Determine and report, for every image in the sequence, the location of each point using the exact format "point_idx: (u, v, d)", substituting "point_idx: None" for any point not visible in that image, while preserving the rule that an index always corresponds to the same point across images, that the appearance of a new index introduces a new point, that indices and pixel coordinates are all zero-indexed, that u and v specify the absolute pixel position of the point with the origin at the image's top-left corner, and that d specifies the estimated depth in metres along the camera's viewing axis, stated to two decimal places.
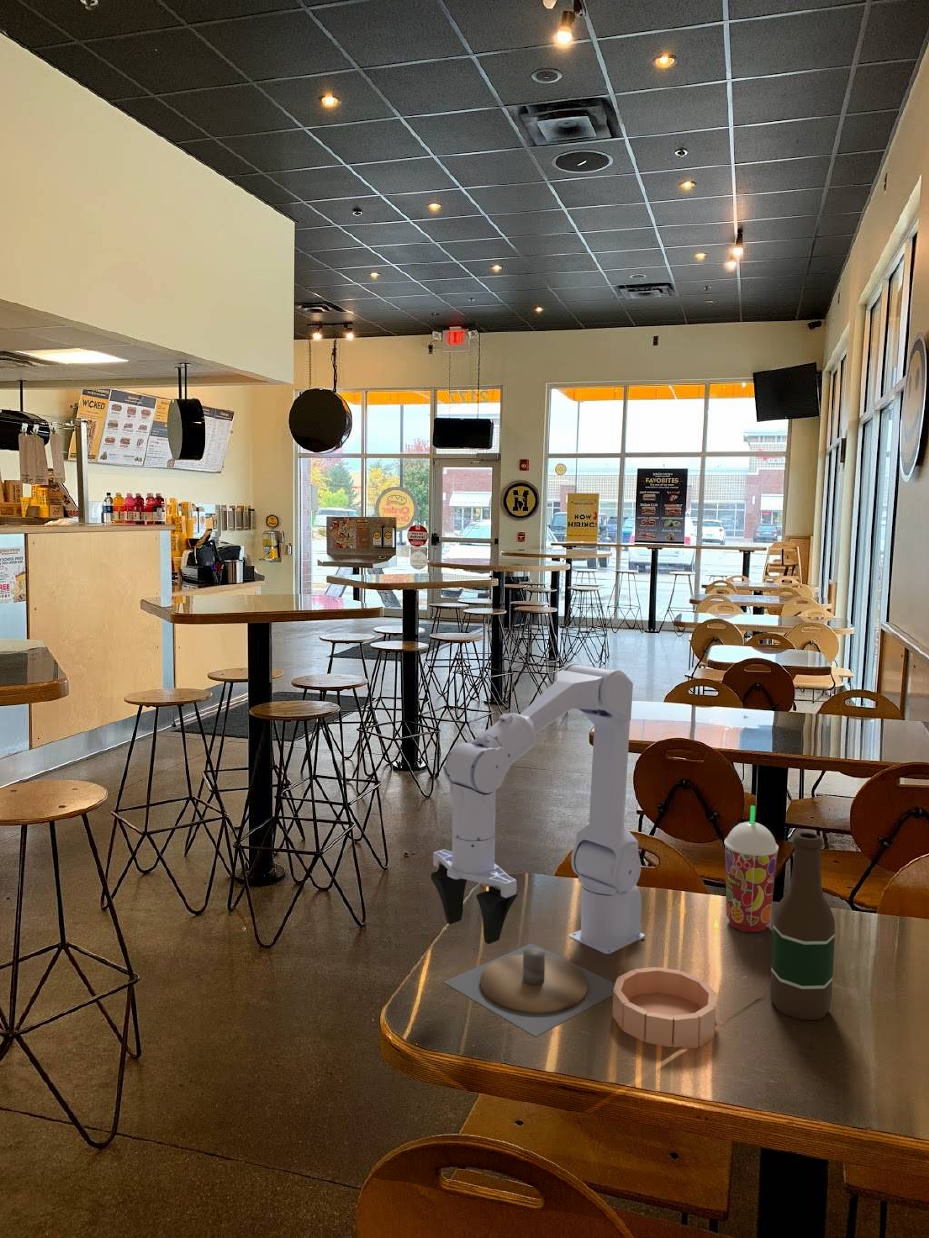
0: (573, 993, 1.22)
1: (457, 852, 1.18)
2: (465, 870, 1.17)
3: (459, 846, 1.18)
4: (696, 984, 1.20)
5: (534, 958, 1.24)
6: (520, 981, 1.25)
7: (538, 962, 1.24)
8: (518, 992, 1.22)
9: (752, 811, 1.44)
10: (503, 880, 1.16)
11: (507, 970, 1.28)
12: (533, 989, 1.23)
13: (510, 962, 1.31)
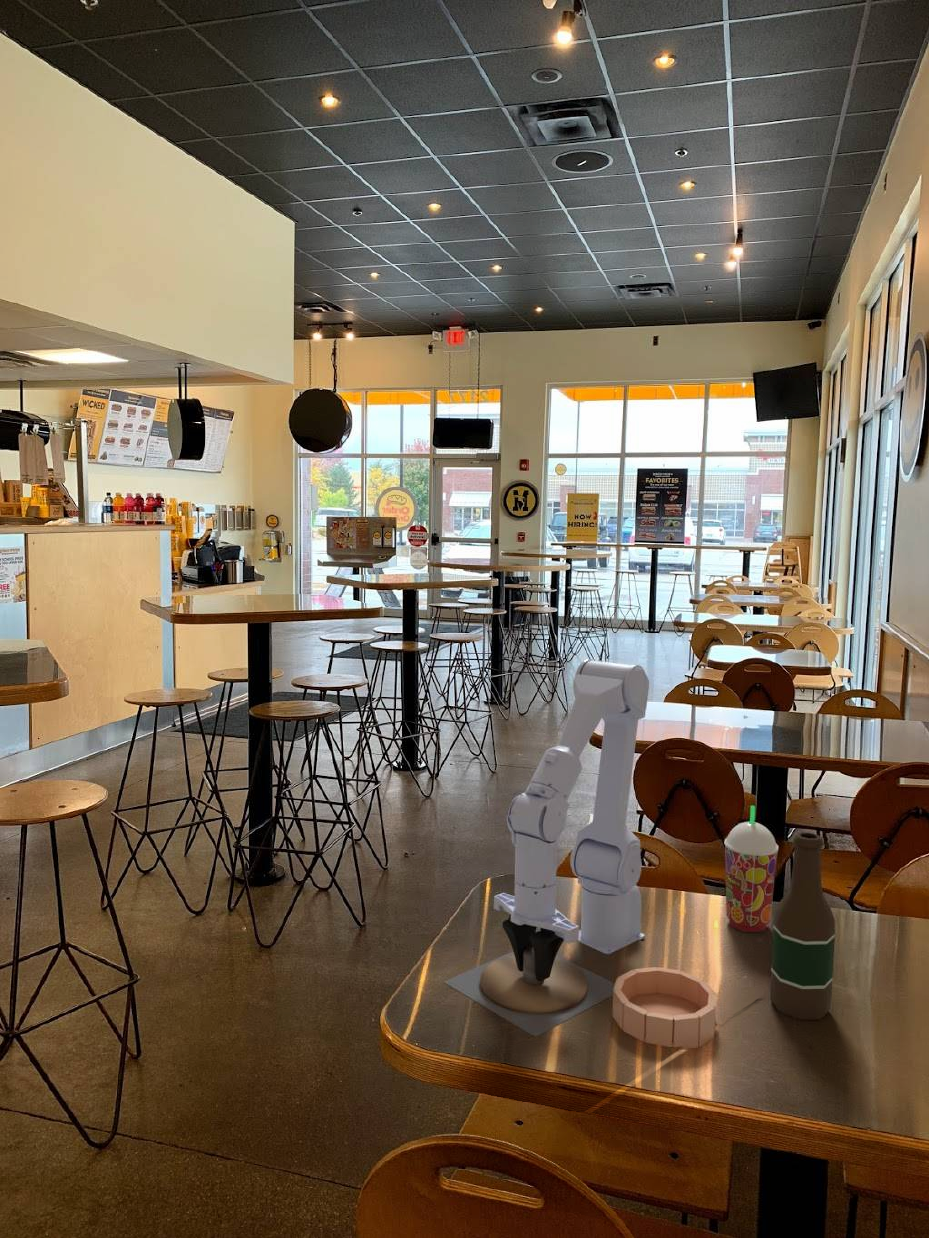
0: (573, 993, 1.22)
1: (520, 899, 1.23)
2: (528, 916, 1.22)
3: (522, 893, 1.22)
4: (696, 984, 1.20)
5: (534, 958, 1.24)
6: (520, 981, 1.25)
7: None
8: (518, 992, 1.22)
9: (752, 811, 1.44)
10: (566, 926, 1.20)
11: (507, 970, 1.28)
12: (533, 989, 1.23)
13: (510, 962, 1.31)
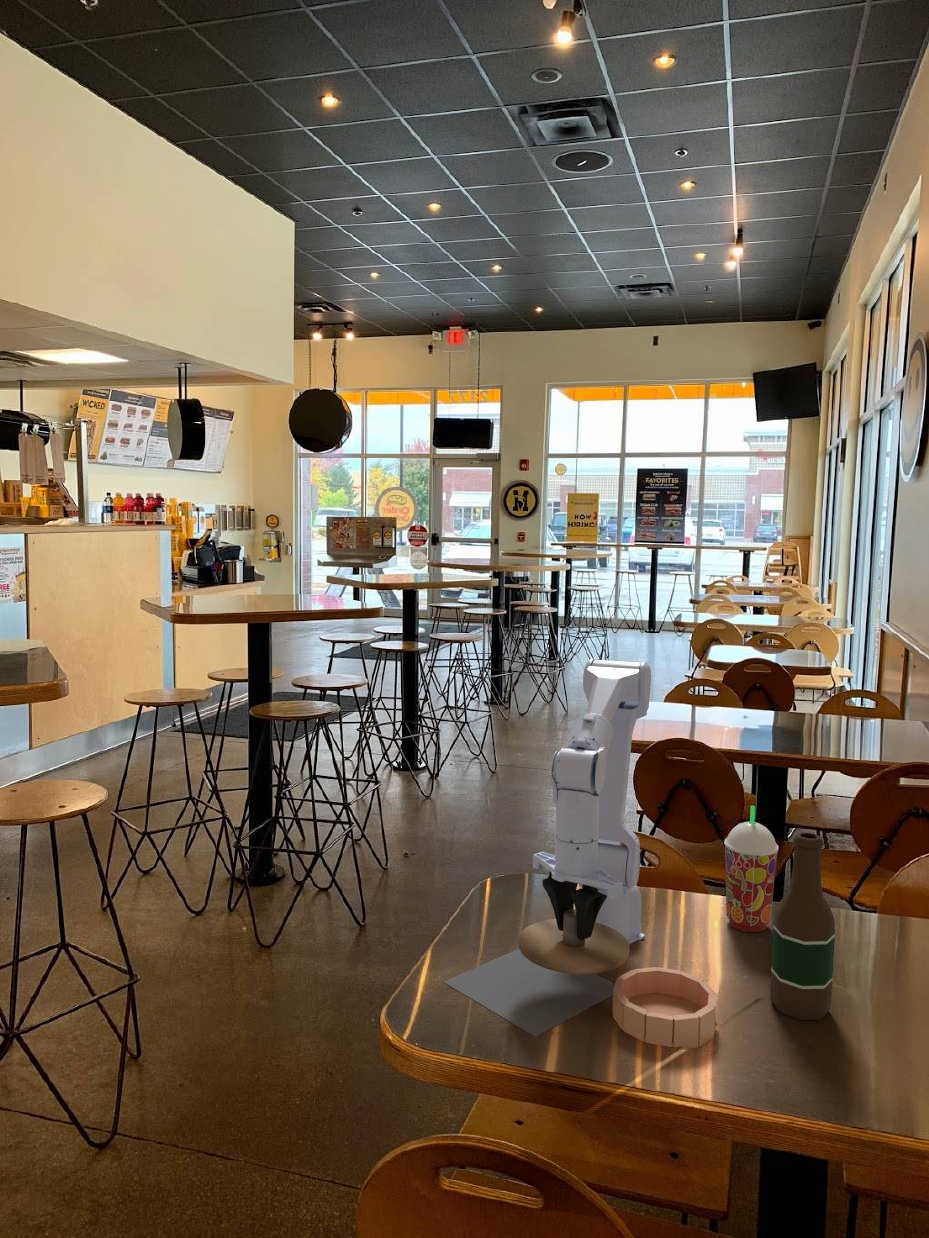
0: (615, 955, 1.19)
1: (561, 855, 1.19)
2: (570, 873, 1.19)
3: (564, 849, 1.19)
4: (696, 984, 1.20)
5: (575, 919, 1.20)
6: (560, 943, 1.22)
7: None
8: (558, 953, 1.19)
9: (752, 811, 1.44)
10: (609, 883, 1.17)
11: (546, 932, 1.25)
12: (573, 950, 1.20)
13: (549, 925, 1.27)
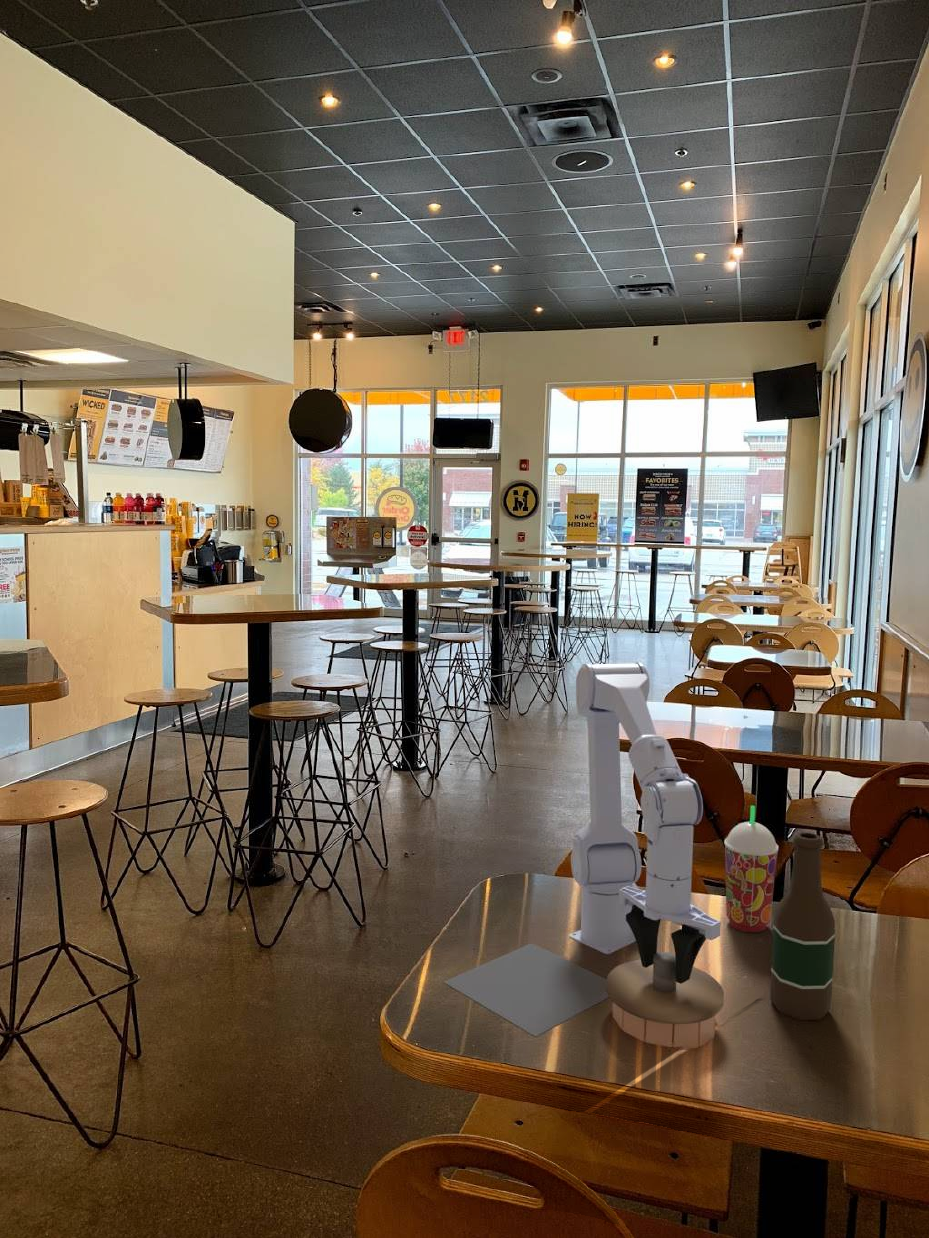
0: (710, 1002, 1.13)
1: (654, 892, 1.14)
2: (664, 911, 1.13)
3: (657, 886, 1.14)
4: None
5: (666, 963, 1.15)
6: (650, 988, 1.17)
7: (670, 968, 1.15)
8: (650, 999, 1.14)
9: (752, 811, 1.44)
10: (706, 921, 1.12)
11: (634, 975, 1.20)
12: (665, 997, 1.15)
13: (635, 967, 1.22)
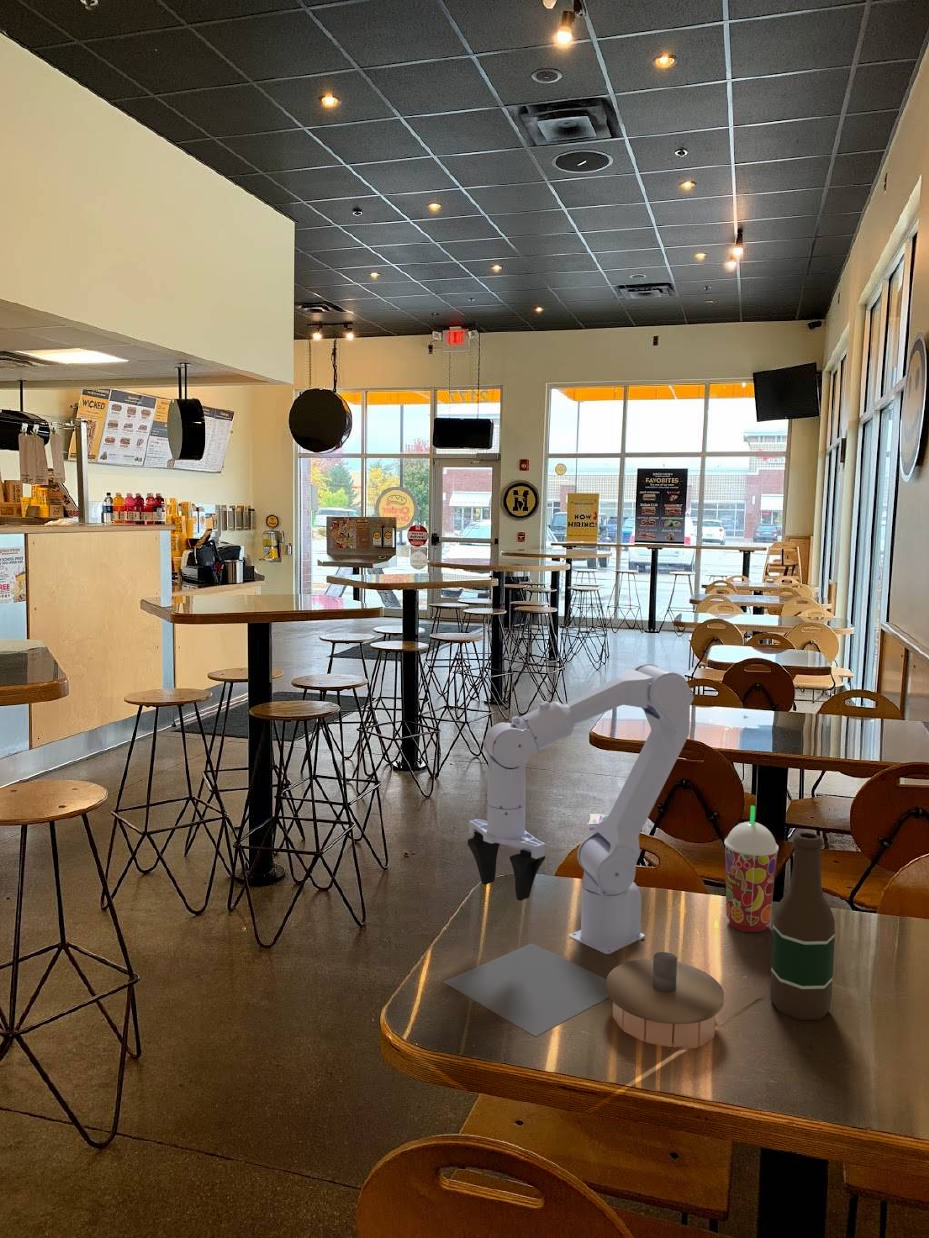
0: (710, 1002, 1.13)
1: (492, 820, 1.33)
2: (499, 836, 1.33)
3: (494, 814, 1.33)
4: None
5: (666, 963, 1.15)
6: (650, 988, 1.17)
7: (670, 968, 1.15)
8: (650, 999, 1.14)
9: (752, 811, 1.44)
10: (533, 844, 1.31)
11: (634, 975, 1.20)
12: (665, 997, 1.15)
13: (635, 967, 1.22)
